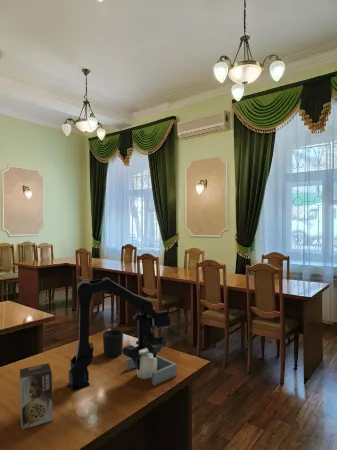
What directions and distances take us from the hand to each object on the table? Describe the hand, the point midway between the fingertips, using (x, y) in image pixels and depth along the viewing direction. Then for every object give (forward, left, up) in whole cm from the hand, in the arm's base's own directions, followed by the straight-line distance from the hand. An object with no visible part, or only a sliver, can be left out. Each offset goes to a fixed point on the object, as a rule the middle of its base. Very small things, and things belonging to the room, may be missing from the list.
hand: (145, 367), depth 132 cm
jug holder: (+3, 0, -3) cm, 4 cm away
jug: (0, -2, -3) cm, 3 cm away
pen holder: (+2, +27, -3) cm, 27 cm away
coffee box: (-44, 0, -3) cm, 44 cm away
